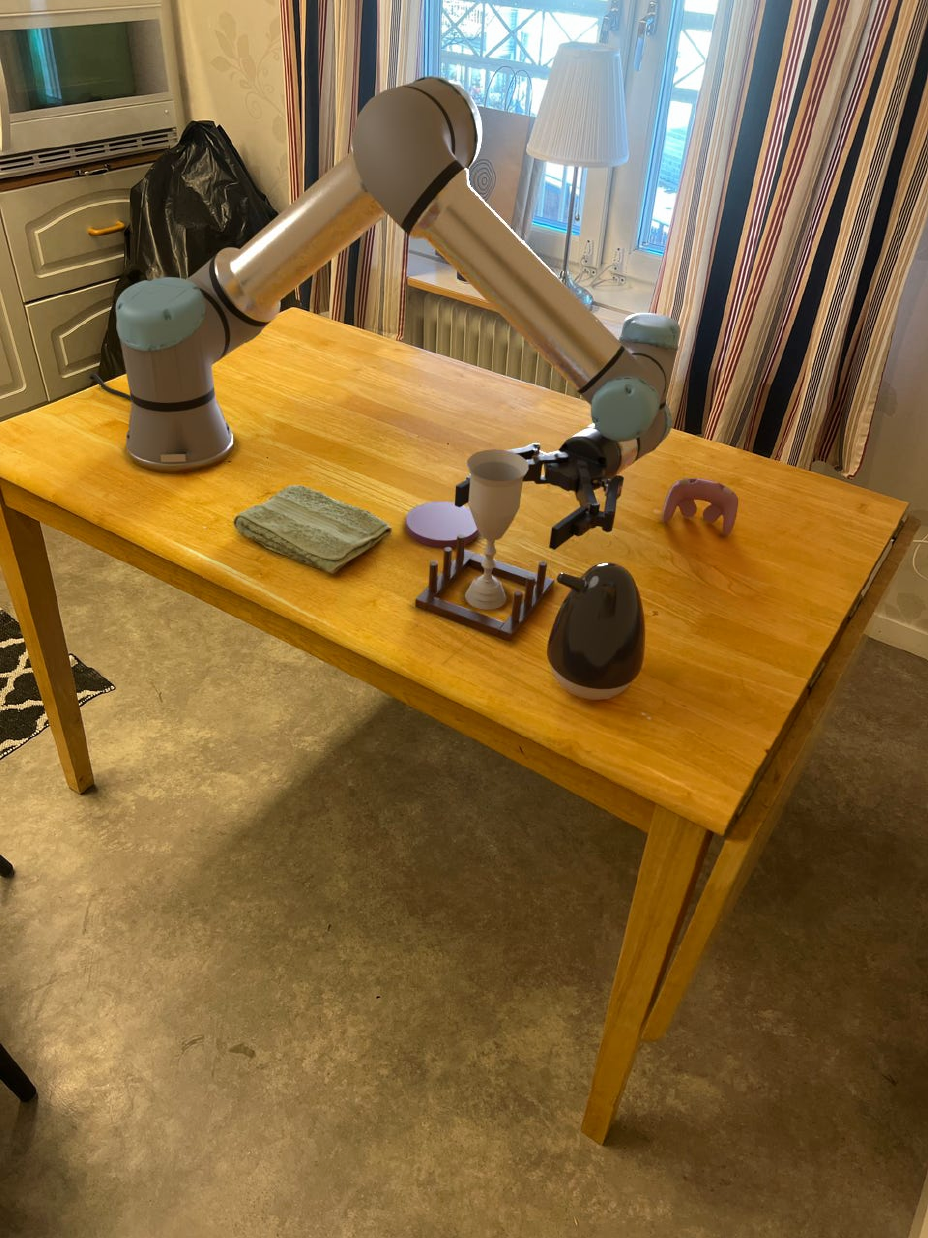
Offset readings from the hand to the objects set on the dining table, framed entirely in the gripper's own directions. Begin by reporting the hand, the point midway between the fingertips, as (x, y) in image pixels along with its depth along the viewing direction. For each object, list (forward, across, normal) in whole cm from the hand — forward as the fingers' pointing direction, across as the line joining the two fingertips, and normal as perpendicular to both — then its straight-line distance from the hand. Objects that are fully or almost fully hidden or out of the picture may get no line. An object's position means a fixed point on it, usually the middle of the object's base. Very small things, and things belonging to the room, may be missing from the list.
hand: (503, 517), depth 103 cm
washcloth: (+7, +25, -11) cm, 28 cm away
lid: (-7, +14, -10) cm, 18 cm away
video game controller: (-32, -12, -11) cm, 36 cm away
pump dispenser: (+7, -18, -11) cm, 22 cm away
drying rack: (+2, 0, -10) cm, 11 cm away
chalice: (+2, 0, -11) cm, 11 cm away
